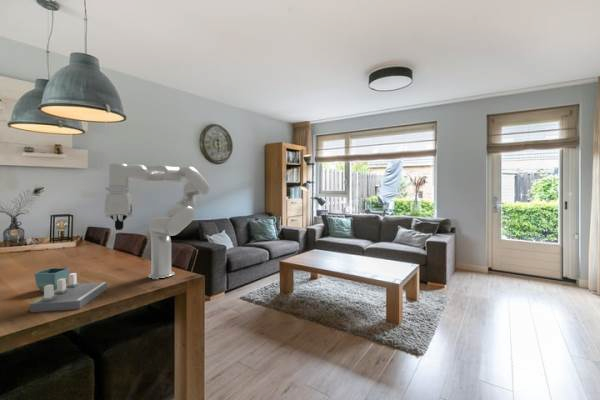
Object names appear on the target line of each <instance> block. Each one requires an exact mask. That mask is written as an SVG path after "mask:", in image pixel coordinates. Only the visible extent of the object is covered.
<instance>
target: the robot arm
mask: <svg viewBox="0 0 600 400" xmlns="http://www.w3.org/2000/svg"><path fill="white" fill-rule="evenodd" d="M129 181H150V182H169V183H170V182H174V183H175V182H176V183H181V182H182V183H184V185H183V191H182V193H183V194H182V198H180V199H179V200H178V201H177V202H176V203H175V204H173V205H172V206H170V208H168V209H167V211H166V216H155V217H153V218H152V219H151V220H150V222H149V224H148V231H149V234H150V250H151V251H150V253H151V254H150V256H151V257H150V258H151V259H150V260H151V262H150V263H151V265H150V266H151V267H150V273H149V274H148V275H147V278H148V277H149V278H148V279H150V278H152V279H151V280H160V279H159V278H165V277H169V276H172V275H174V276H175V271H173V270H172V239H171V236H172V237H173V236H176V235H178V234H180V233H181V232H182V231H183V230H184V229H185V228H186V227H187V226H188V225H190V224H191V223H192V222H193V220H194V218H195V216H196V215H195V214H196V211H195V209H194V208H195V207H196V203H197V202H196V199H197V198H196V197H197V196H206V195H207V194H209V192H210V185H209V182H207V180H206V179H205V178H204V176H203V175H202V174H201V173H200V172H199V170H197V169H196V168H195V167H193V166H189V165H187V166H178V165H175V166H173V165H162V164H161V165H160V164H159V165H157V164H156V165H143V164H139V163H133V164H130V163H129V164H127V163H124V162H123V163H122V162H112V163H110V164H109V165H108V186H107V187H105V191H108V192H106V196H105V202H104V213H105V217H106V218H110V219H112V220H113V221H114V228H115V231H122V230H123V229H124V221H125V220H126V219H127V218H131V217H133V203H132V202H133V201H132V196H131V193H130V192H129ZM185 182H186V183H185ZM172 277H173V276H172ZM169 278H170V277H169ZM165 279H166V278H165Z"/></svg>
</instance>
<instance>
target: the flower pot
mask: <svg viewBox="0 0 600 400" xmlns="http://www.w3.org/2000/svg"><path fill="white" fill-rule="evenodd" d="M69 274H70V268H67V267H65V268H64V267H63V268H62V267H58V268H57V267H51V268H46V269H44V270H41V271H36V272H35V273H34V278H35V283H36V286H37V288H38V289H39V290H40V291H41V292H42V293H44V286H47V285H53V284H54V291H55V290H57V280H59V279H63V278H66V283H67V281H68V280H69Z"/></svg>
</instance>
